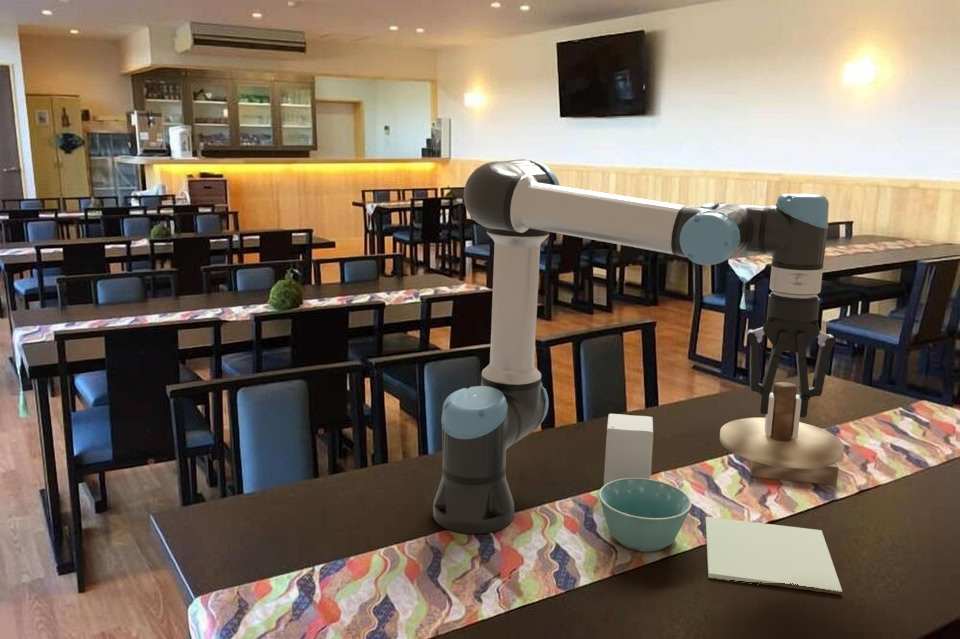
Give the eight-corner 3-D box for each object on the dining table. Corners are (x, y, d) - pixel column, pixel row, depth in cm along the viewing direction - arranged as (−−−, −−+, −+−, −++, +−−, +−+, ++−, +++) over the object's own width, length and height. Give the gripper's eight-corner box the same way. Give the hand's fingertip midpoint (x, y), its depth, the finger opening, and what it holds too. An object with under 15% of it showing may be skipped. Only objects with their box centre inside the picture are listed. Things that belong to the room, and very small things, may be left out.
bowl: (704, 539, 141) (708, 496, 139) (657, 573, 130) (660, 527, 128) (629, 510, 151) (631, 470, 149) (579, 540, 140) (581, 496, 138)
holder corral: (751, 476, 167) (752, 458, 166) (745, 446, 182) (746, 430, 181) (836, 485, 163) (838, 467, 162) (823, 454, 178) (825, 437, 177)
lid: (721, 460, 124) (726, 398, 122) (718, 419, 142) (722, 364, 140) (853, 474, 119) (861, 410, 117) (832, 430, 137) (839, 373, 135)
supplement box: (649, 505, 153) (654, 432, 150) (602, 500, 155) (605, 428, 152) (649, 485, 162) (653, 415, 159) (604, 481, 164) (608, 412, 160)
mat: (708, 577, 129) (708, 573, 128) (705, 520, 147) (705, 516, 147) (841, 595, 124) (842, 591, 124) (821, 534, 143) (821, 530, 143)
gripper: (741, 295, 124) (729, 437, 129) (855, 301, 120) (838, 447, 125) (738, 286, 131) (727, 421, 136) (846, 291, 127) (830, 430, 132)
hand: (780, 433), depth 131 cm, fingers closed on lid, 3 cm apart
